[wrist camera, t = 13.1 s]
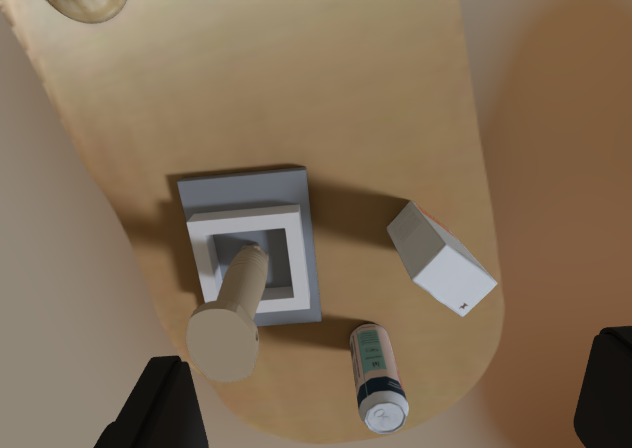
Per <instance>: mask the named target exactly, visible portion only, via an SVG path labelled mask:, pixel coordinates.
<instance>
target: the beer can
mask: <svg viewBox="0 0 632 448" xmlns="http://www.w3.org/2000/svg"><path fill="white" fill-rule="evenodd" d="M350 350H351V357H352V364H353V372H354V379H355V387H356V394H357V401H358V409H359V414H360V417H361V419H362V421H363V422H364V423H365V424H366V425H367V426H368V428H369V429H370V430H372V431H374V432H377V433H379V434H386V433H394V432H395V431H397V430H398V429H400V428H401V427H403V426H404V423H405V420H406V417H407V414H408V411H409V407H408V403H407V400H406V396H405V393H404V389H403V386H402V382H401V379H400V376H399V372H398V369H397V365H396V362H395V358H394V355H393V351H392V348H391V344H390V341H389V337H388V334H387V332H386V331H385V330H384V329H383V328H382V327H381V326H379V325H376V324H364V325H361V326H359V327H357V328H356V329H355V330H354V331H353V332H352V334H351V336H350Z"/></svg>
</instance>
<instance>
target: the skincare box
mask: <svg viewBox="0 0 632 448" xmlns="http://www.w3.org/2000/svg"><path fill="white" fill-rule="evenodd" d="M386 229H387V231H388V233H389V235H390V237H391V239H392V241H393V243H394V245H395V247H396V249H397V252H398V253H399V256H400V258H401V260H402V262H403V264H404V266H405V268H406V270H407V272H408V274H409V276H410V278H411V280H412V281H413V282H414V283H416V284H417V285H419V286H420V287H421V288H423V289H424V290H425V291H427V292H428V293H429V294H431V295H432V296H433V297H434V298H435V299H437V300H438V301H439V302H441V303H443V304H444V305H446V306H447V307H449V308H450V309H451V310H453V311H454V312H456V313H457V314H458V315H460V316H461V317H464V316H465V315H466V314H467V313H468V312H469V311H470V310H471V309H472V308H473V307H474V306H475V305H476V304H477V303H478V302H479V301H480V300H481V299H482V298H483V297H485V296H486V295H487V294H488V293H489V292H490V291H491V290H492V289H493V288H494V287H495V286H496V285H497V282H496V281H495V280H494V279H493V278H492V276H491V275H490V274H489V273H488V272H487V271H486V270H485V269H484V268H483V267H482V265H481V264H480V263H479V262H478V261H477V260H476V259H475V258H474V257H473V256H472V254H471V253H470V252H469V251H468V250H467V249H466V248H465V247H464V246H463V244H462V243H461V242H460V241H459V240H458V239H457V238H456V237H455V236H454V235H453V233H452V232H451V231H450V230H449V229H447V228H446V227H444V226H443V225H442V224H440V223H439V222H438V221H436V220H435V219H434V218H432V217H431V216H430V215H428V214H427V213H426V212H425V211H424V210H422V209H421V208H420V207H419V206H417V205H416V204H415V203H414V202H413V201H410V202H409V203H408V204H407V205H406V206H405V207H404V209H403V210H402V211H401V212H400V213H399V214H398V215H397V217H396V218H395V219H394V220H393V221H392V222H391V223H390V224H389V225H388V226H387V228H386Z"/></svg>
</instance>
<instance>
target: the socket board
mask: <svg viewBox="0 0 632 448" xmlns="http://www.w3.org/2000/svg"><path fill="white" fill-rule="evenodd" d="M177 184H178V188H179V193H180V197H181V201H182V206H183V210H184V214H185V218H186V223H187V227H188V231H189V236H190V240H191V244H192V249H193V253H194V257H195V262H196V266H197V270H198V275H199V279H200V283H201V287H202V292H203V296H204V300H205V303H207V302H210V301H215V300H217V297H218V294H219V291H220V288H221V285H222V282H223V279H224V276H225V274H226V271H227V269H228V267H229V265H230V264H231V262H232V260H233V259H234V258H235V256H236V255H237V254H238V253H239V252H240V249H241V248H242V247H243V246H244V245H246V244H247V245H253V244H255V243H258V244H260V247H261V248H262V249H263V250H264V251H266V252H267V253H268V257H269V260H268V272H267V280H266V284H265V288H264V291H263V294H262V297H261V300H260V302H259V305H258V308H257V310H256V313H255V316H254V319H253V321H254V322H255V324H256V326H257V327H258V326H271V325H283V324H295V323H307V322H320V321H322V320H321V306H320V296H319V287H318V277H317V268H316V258H315V249H314V239H313V229H312V220H311V210H310V201H309V191H308V182H307V172H306V167H298V168H287V169H277V170H266V171H255V172H244V173H234V174H223V175H212V176H202V177H191V178H182V179H180V180H179V181H178V182H177Z"/></svg>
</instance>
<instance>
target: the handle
mask: <svg viewBox="0 0 632 448" xmlns="http://www.w3.org/2000/svg"><path fill="white" fill-rule="evenodd" d="M268 260H269V257H268V253H267V252H266V251H264V250H263V249H262V248H261V247H260V244H258V243H255V244H253V245H247V244H246V245H244V246H243V247H242V248H241V249H240V252H239V253H238V254H237V255H236V256H235V258H234V259H233V260H232V262H231V264H230V265H229V267H228V269H227V271H226V274H225V276H224V279H223V282H222V285H221V288H220V291H219V294H218V297H217V300H215V301H210V302H207V303H204V304H202V305H200V306H199V307H198V308H197V309H195V310H194V312H193V314H192V315H191V317H190V320H189V324H188V328H187V333H186V342H187V347H188V350H189V353H190V356H191V358H192V360H193V362H194V364H195V365H196V366H197V367H198V368H199V369H200V371H201V372H202V373H203V374H204V375H205V376H206V377H207V378H208V379H211V380H213V381H217V382H235V381H239V380H242V379H245V378H247V377H248V376H250V375H251V374H252V372H253V369H254V366H255V363H256V359H257V355H258V350H259V336H258V329H257V326H256V324H255V322H254V321H253V319H254V316H255V313H256V310H257V308H258V305H259V302H260V300H261V297H262V294H263V291H264V288H265V284H266V280H267V272H268Z"/></svg>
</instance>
